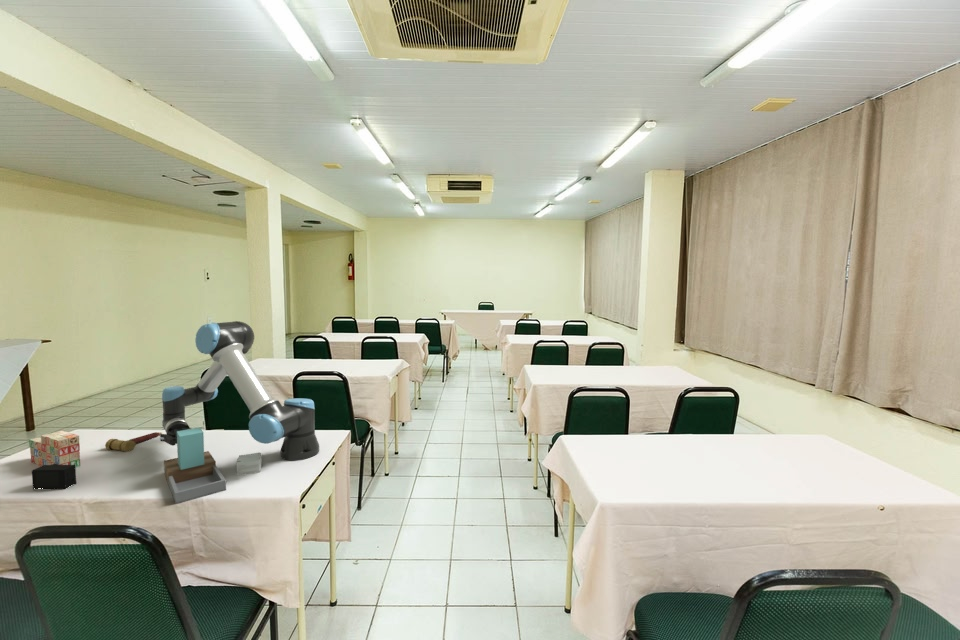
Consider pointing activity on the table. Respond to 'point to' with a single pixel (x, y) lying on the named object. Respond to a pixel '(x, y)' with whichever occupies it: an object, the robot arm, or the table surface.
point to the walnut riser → (188, 469)
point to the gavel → (128, 442)
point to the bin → (197, 486)
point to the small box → (248, 464)
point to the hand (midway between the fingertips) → (186, 445)
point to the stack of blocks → (56, 449)
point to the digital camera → (54, 476)
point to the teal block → (190, 448)
